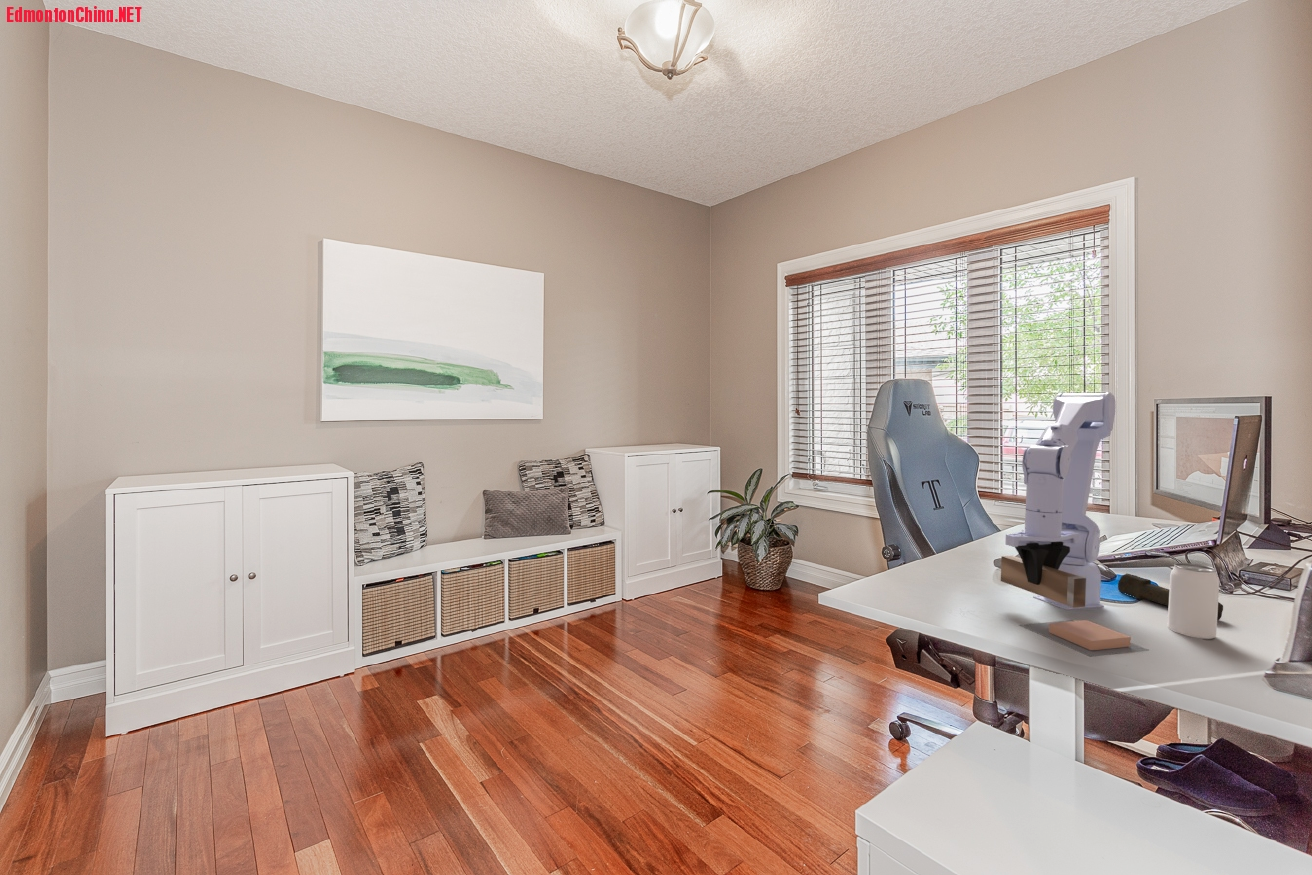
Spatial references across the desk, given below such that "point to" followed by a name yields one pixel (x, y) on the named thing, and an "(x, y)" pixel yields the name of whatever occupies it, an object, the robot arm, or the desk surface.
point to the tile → (1089, 635)
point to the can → (1193, 600)
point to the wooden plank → (1046, 582)
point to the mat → (1044, 631)
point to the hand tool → (1148, 590)
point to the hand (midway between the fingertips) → (1040, 582)
